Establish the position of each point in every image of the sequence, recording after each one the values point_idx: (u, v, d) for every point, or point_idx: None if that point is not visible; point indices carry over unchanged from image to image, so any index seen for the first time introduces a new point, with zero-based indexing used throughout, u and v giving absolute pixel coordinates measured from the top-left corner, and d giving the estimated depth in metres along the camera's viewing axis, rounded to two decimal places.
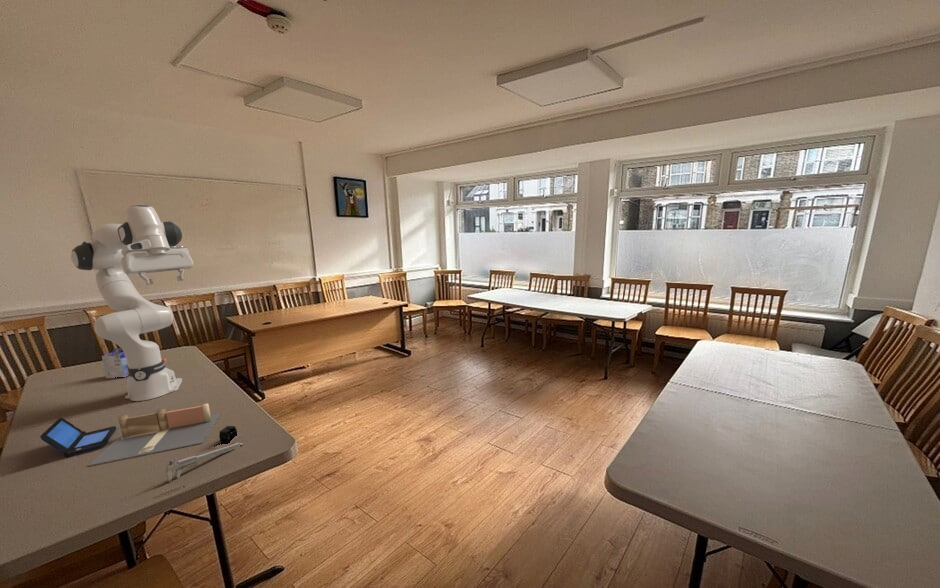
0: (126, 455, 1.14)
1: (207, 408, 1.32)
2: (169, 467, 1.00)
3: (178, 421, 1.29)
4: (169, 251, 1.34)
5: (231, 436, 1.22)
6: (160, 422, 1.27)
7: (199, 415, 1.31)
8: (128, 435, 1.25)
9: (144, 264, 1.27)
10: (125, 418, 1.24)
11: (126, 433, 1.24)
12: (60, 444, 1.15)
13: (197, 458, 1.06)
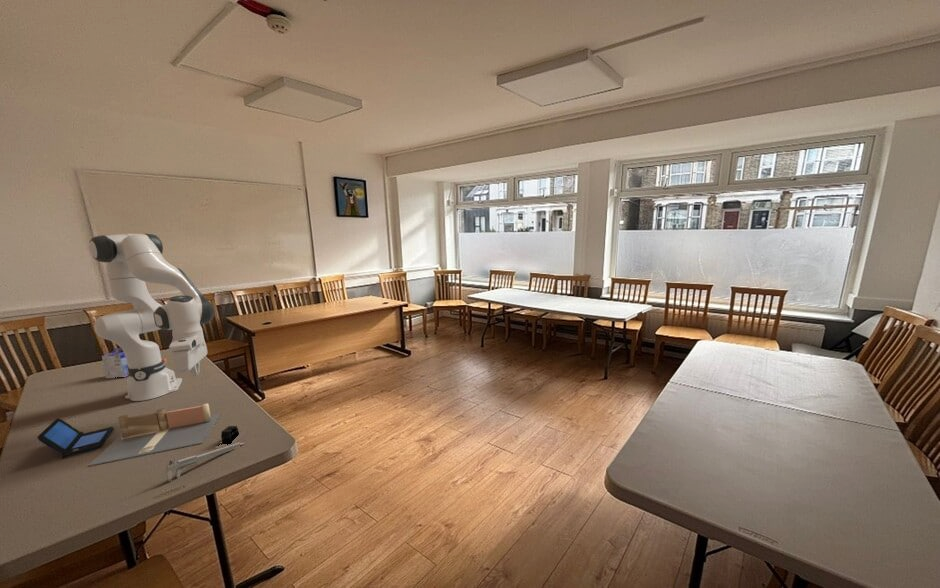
0: (126, 455, 1.14)
1: (207, 408, 1.32)
2: (169, 467, 1.01)
3: (178, 421, 1.29)
4: None
5: (233, 436, 1.22)
6: (160, 422, 1.27)
7: (199, 415, 1.31)
8: (128, 435, 1.25)
9: (193, 360, 1.29)
10: (125, 418, 1.24)
11: (126, 433, 1.24)
12: (57, 445, 1.15)
13: (197, 458, 1.06)
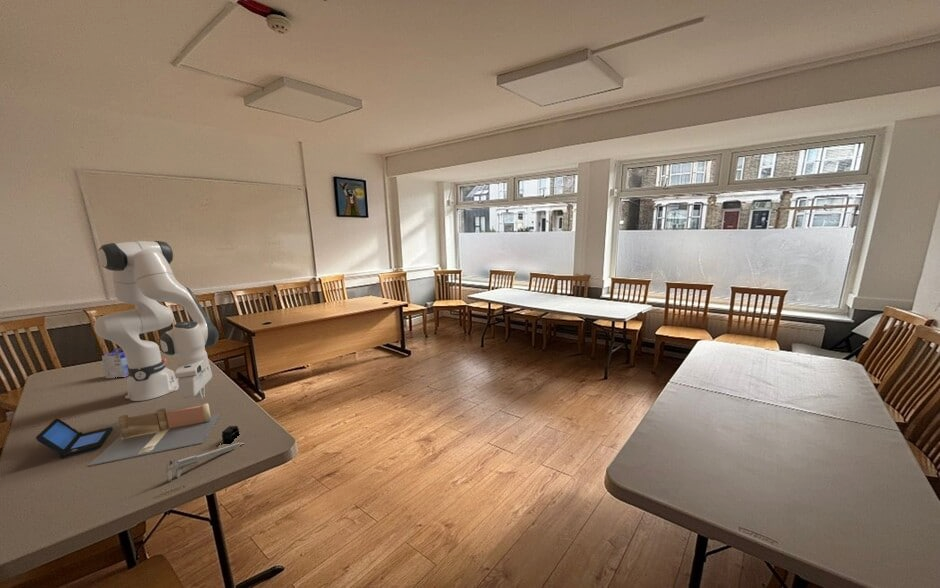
0: (126, 455, 1.14)
1: (207, 408, 1.32)
2: (169, 467, 1.01)
3: (178, 421, 1.29)
4: None
5: (233, 436, 1.22)
6: (160, 422, 1.27)
7: (199, 415, 1.31)
8: (128, 435, 1.25)
9: (198, 385, 1.31)
10: (125, 418, 1.24)
11: (126, 433, 1.24)
12: (56, 445, 1.15)
13: (197, 458, 1.06)
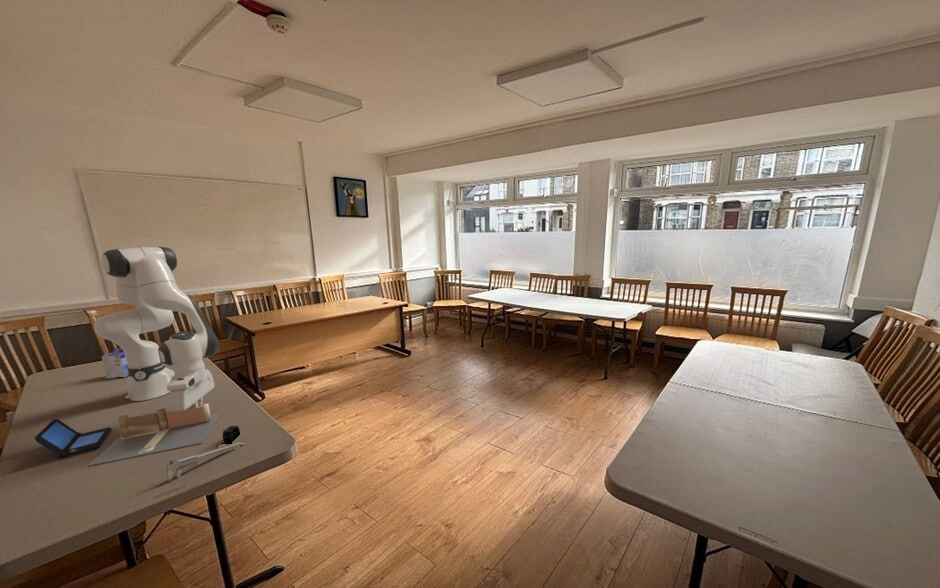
0: (126, 455, 1.14)
1: (207, 408, 1.32)
2: (169, 466, 1.01)
3: (178, 421, 1.29)
4: None
5: (234, 436, 1.22)
6: (160, 422, 1.27)
7: (199, 415, 1.31)
8: (128, 435, 1.25)
9: (191, 398, 1.28)
10: (125, 418, 1.24)
11: (126, 433, 1.24)
12: (54, 445, 1.14)
13: (197, 458, 1.06)
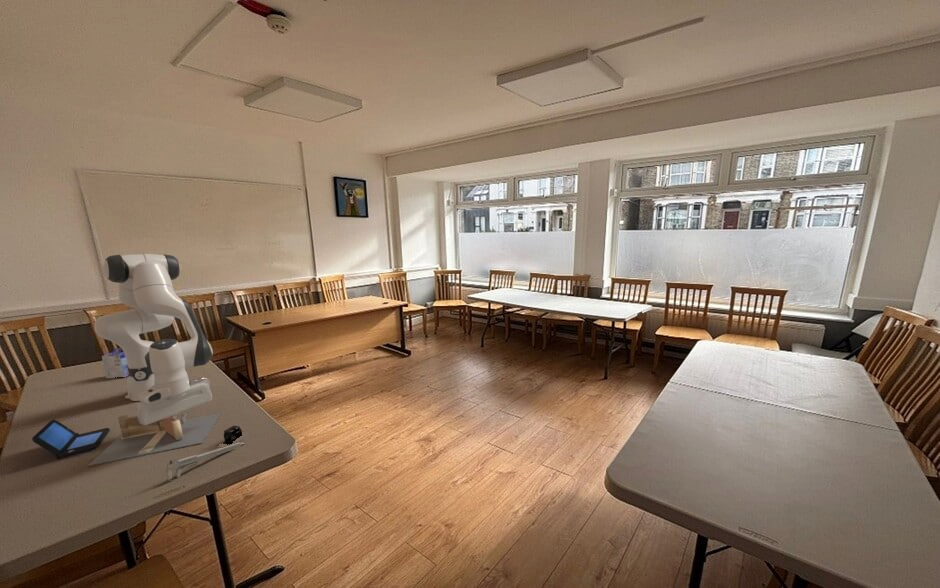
0: (126, 455, 1.14)
1: (175, 426, 1.20)
2: (169, 466, 1.01)
3: (166, 427, 1.25)
4: (189, 390, 1.24)
5: (236, 436, 1.22)
6: (160, 422, 1.27)
7: (173, 430, 1.22)
8: (128, 435, 1.25)
9: (160, 413, 1.18)
10: (125, 418, 1.24)
11: (126, 433, 1.24)
12: (52, 446, 1.14)
13: (197, 457, 1.07)
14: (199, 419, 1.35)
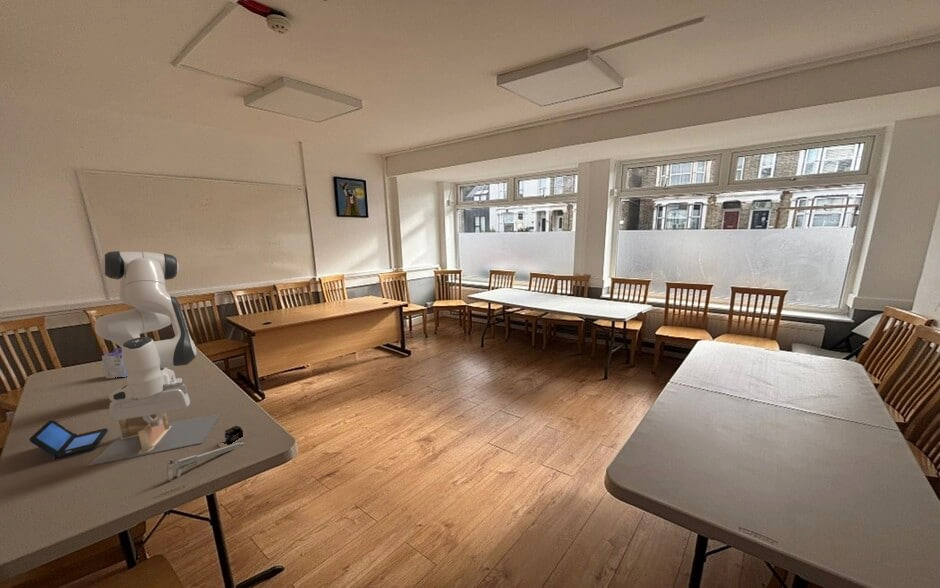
0: (126, 455, 1.14)
1: (139, 436, 1.15)
2: (169, 466, 1.01)
3: None
4: (159, 394, 1.17)
5: (237, 436, 1.21)
6: None
7: None
8: (128, 435, 1.25)
9: (129, 412, 1.15)
10: None
11: (126, 433, 1.24)
12: (50, 447, 1.14)
13: (198, 457, 1.07)
14: (199, 419, 1.35)
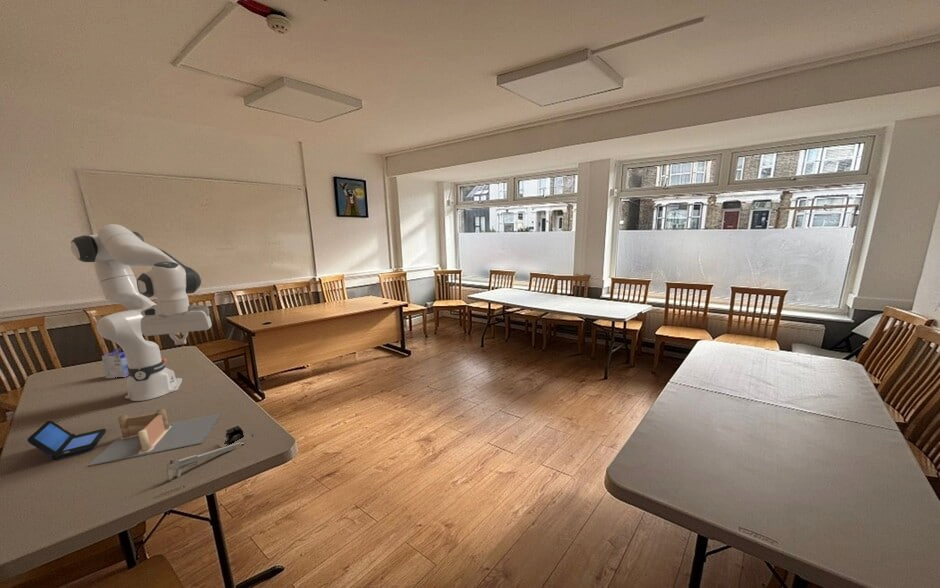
0: (126, 455, 1.14)
1: (139, 436, 1.15)
2: (170, 466, 1.01)
3: None
4: (185, 314, 1.29)
5: (238, 437, 1.21)
6: None
7: None
8: (128, 435, 1.25)
9: (158, 328, 1.27)
10: (125, 418, 1.24)
11: (126, 433, 1.24)
12: (48, 447, 1.14)
13: (198, 457, 1.07)
14: (199, 419, 1.35)
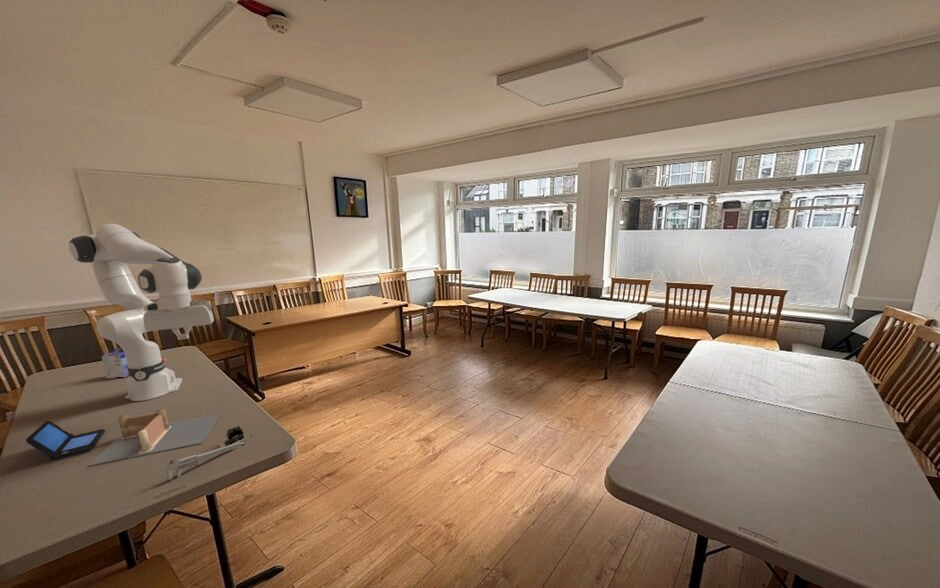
0: (126, 455, 1.14)
1: (139, 436, 1.15)
2: (170, 466, 1.01)
3: None
4: (187, 309, 1.30)
5: (238, 437, 1.21)
6: None
7: None
8: (128, 435, 1.25)
9: (161, 323, 1.28)
10: (125, 418, 1.24)
11: (126, 433, 1.24)
12: (46, 447, 1.14)
13: (198, 457, 1.07)
14: (199, 419, 1.35)
